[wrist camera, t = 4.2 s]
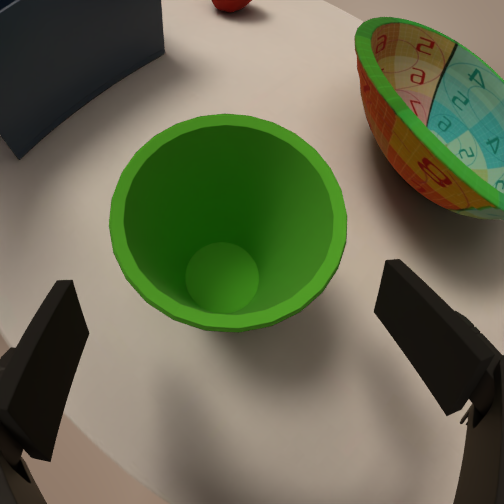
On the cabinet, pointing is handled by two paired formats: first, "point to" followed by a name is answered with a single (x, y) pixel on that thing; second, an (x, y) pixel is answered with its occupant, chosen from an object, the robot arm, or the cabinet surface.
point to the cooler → (67, 58)
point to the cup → (228, 223)
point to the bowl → (434, 114)
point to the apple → (230, 4)
